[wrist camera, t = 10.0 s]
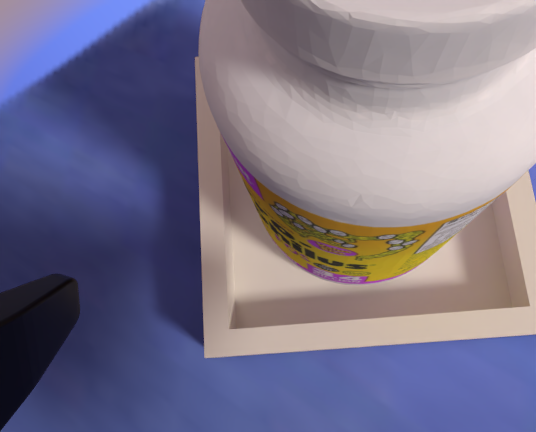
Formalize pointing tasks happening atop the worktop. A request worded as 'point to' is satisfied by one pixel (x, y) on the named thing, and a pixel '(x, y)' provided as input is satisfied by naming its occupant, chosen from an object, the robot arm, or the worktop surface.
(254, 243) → the tray
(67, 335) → the robot arm
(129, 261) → the worktop surface
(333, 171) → the supplement bottle
